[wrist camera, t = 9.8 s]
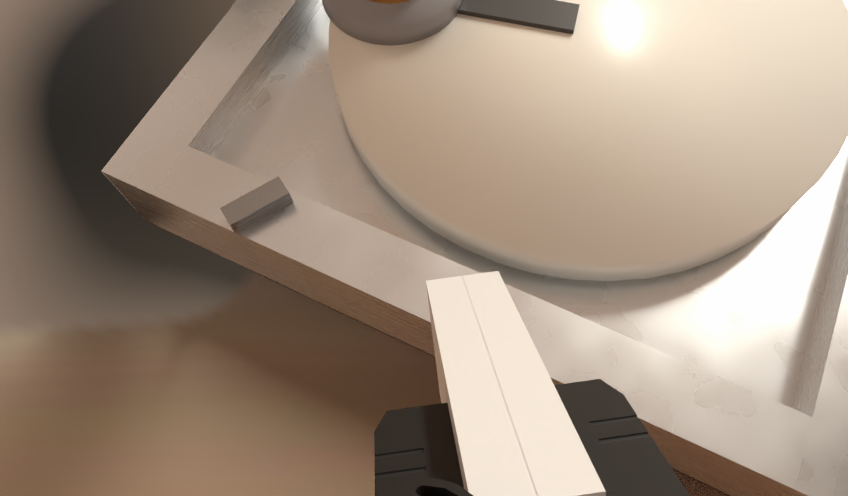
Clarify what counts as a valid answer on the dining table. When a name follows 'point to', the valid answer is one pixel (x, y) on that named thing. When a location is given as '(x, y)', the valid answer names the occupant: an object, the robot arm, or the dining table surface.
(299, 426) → the dining table surface
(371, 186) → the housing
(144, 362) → the dining table surface
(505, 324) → the robot arm
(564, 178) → the dial
